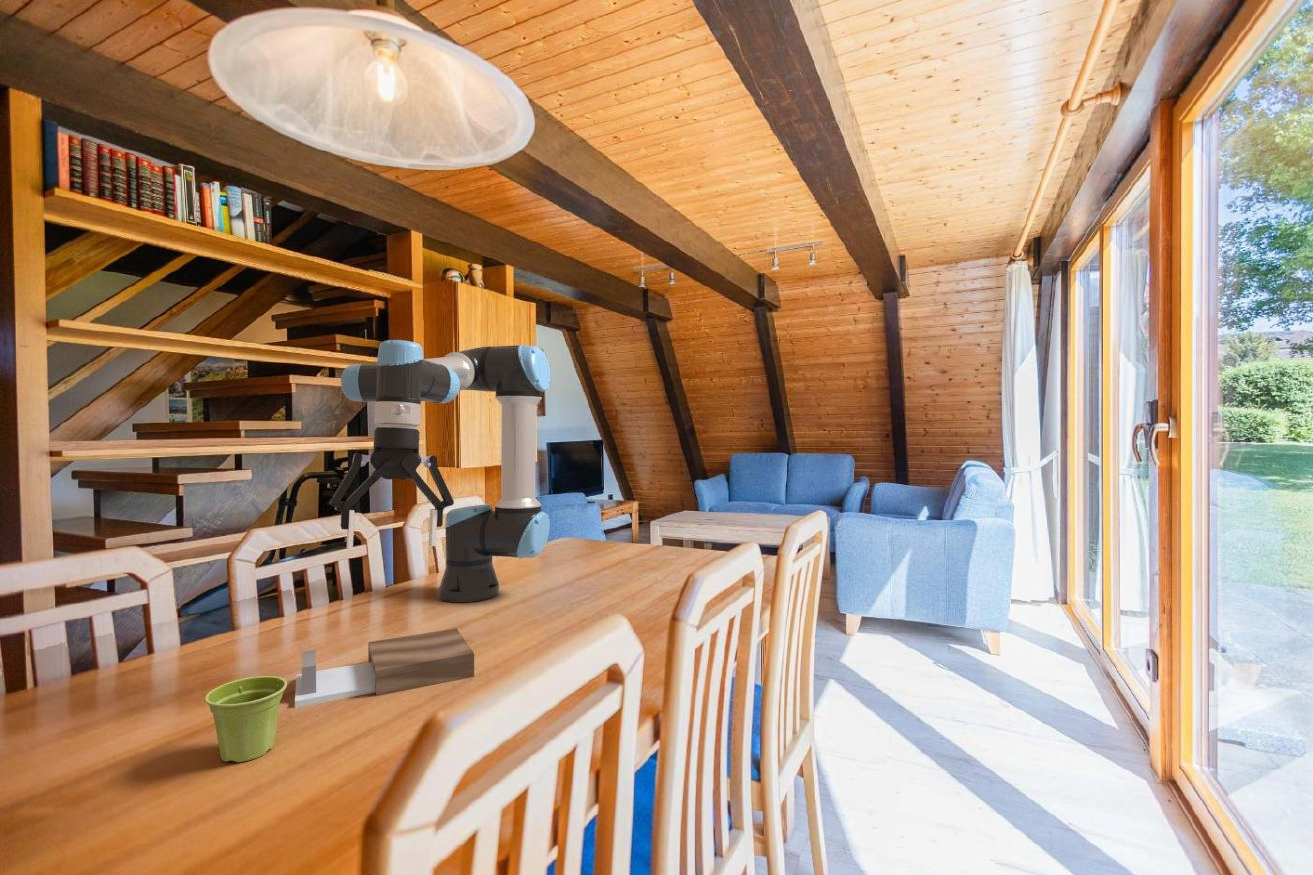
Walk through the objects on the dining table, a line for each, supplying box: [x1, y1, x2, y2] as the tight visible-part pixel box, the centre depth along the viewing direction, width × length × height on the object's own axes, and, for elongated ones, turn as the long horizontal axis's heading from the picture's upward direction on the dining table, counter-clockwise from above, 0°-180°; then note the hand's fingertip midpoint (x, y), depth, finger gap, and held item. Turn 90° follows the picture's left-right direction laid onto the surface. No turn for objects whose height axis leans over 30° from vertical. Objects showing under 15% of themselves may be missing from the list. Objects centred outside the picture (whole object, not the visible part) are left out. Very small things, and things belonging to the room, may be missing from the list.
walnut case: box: [367, 628, 475, 696], centre depth 114 cm, size 15×16×4 cm
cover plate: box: [294, 649, 375, 709], centre depth 110 cm, size 12×24×6 cm, turn 119°
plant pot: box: [204, 675, 288, 763], centre depth 86 cm, size 9×9×9 cm
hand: (392, 547), depth 110 cm, fingers open, 13 cm apart
